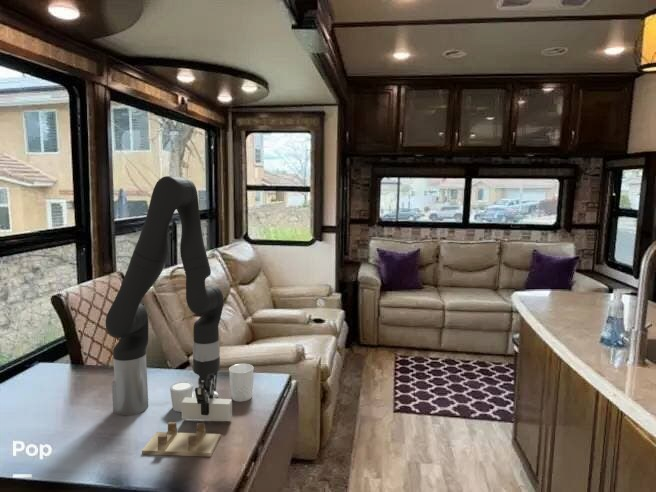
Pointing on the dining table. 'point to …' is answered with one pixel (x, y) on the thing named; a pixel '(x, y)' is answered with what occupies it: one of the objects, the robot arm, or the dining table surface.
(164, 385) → the dining table surface
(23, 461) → the dining table surface
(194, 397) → the rose
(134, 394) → the robot arm
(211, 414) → the white rectangular block
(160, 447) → the rack
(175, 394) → the white short tapered cylinder
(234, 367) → the white cup
